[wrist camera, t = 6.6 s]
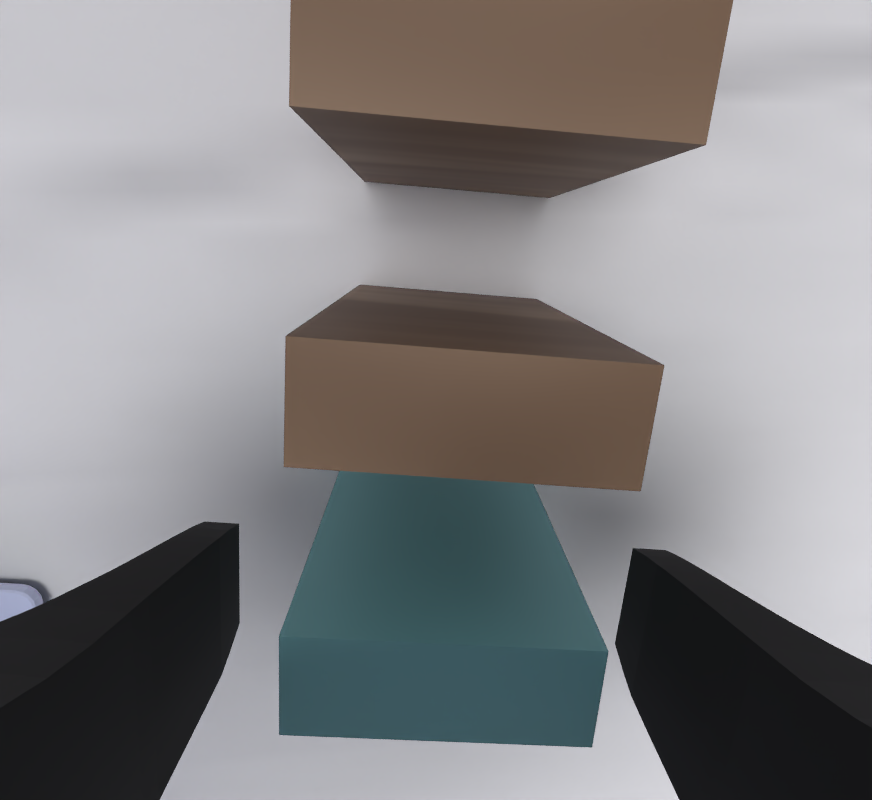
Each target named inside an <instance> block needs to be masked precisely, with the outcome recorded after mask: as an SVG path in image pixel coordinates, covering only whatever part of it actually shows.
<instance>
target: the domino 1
mask: <svg viewBox="0 0 872 800" xmlns="http://www.w3.org/2000/svg"><path fill="white" fill-rule="evenodd" d="M732 4H733V0H291V18H290V87H289V106H290V107H291V108H292V109H293V110H294V111H295V112H296V113H297V114H298V115H299V116H300V117H301V118H302V119H303V120H304V121H305V122H306V123H307V124H308V125H309V126H310V127H311V128H312V129H313V130H314V131H315V132H316V133H317V134H318V135H319V136H320V137H321V138H322V139H323V140H324V141H325V142H326V143H327V144H328V145H329V146H330V147H331V148H332V149H333V150H334V151H335V152H336V153H337V154H338V155H339V156H340V157H341V158H342V159H343V160H344V161H345V162H346V163H347V164H348V165H349V166H350V167H351V168H352V169H353V170H354V171H355V172H356V173H357V174H358V175H359V176H360V177H361V178H362V179H363V180H364V181H365V182H376V183H387V184H398V185H409V186H421V187H432V188H443V189H455V190H466V191H477V192H488V193H500V194H511V195H522V196H534V197H545V198H551V197H554V196H557V195H560V194H562V193H565V192H568V191H571V190H574V189H577V188H580V187H583V186H586V185H589V184H592V183H595V182H598V181H601V180H604V179H607V178H610V177H613V176H616V175H619V174H622V173H624V172H627V171H630V170H633V169H636V168H639V167H642V166H645V165H648V164H651V163H654V162H657V161H660V160H663V159H666V158H669V157H672V156H675V155H678V154H681V153H683V152H686V151H689V150H692V149H695V148H698V147H701V146H704V145H706V142H707V137H708V131H709V126H710V121H711V115H712V110H713V105H714V99H715V94H716V89H717V83H718V78H719V73H720V67H721V62H722V57H723V52H724V46H725V41H726V36H727V30H728V25H729V20H730V14H731V9H732Z"/></svg>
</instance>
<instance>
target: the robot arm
mask: <svg viewBox="0 0 872 800" xmlns="http://www.w3.org/2000/svg"><path fill="white" fill-rule="evenodd" d="M238 626H239V524H233V523H217V522H203V523H200V524H198V525H196V526H193V527H191V528H189V529H187V530H185V531H184V532H182V533H180V534H178V535H176V536H174V537H172V538H171V539H169V540H167V541H165V542H163V543H161V544H160V545H158V546H156V547H154V548H152V549H150V550H149V551H147V552H145V553H143V554H141V555H139V556H137V557H136V558H134V559H132V560H130V561H128V562H126V563H125V564H123V565H121V566H119V567H117V568H115V569H113V570H111V571H109V572H107V573H105V574H103V575H101V576H99V577H97V578H95V579H93V580H91V581H89V582H87V583H85V584H83V585H81V586H79V587H77V588H75V589H73V590H71V591H69V592H67V593H65V594H63V595H61V596H59V597H57V598H54V599H52V600H50V601H48V602H46V603H43V599H42V596H41V594H40V593H39V592H38V591H37V590H36V589H35V588H33V587H31V586H29V585H25V584H13V583H0V800H160V798H161V796H162V794H163V792H164V790H165V788H166V786H167V784H168V782H169V780H170V778H171V776H172V774H173V772H174V770H175V768H176V766H177V764H178V762H179V760H180V758H181V756H182V754H183V752H184V750H185V748H186V746H187V744H188V742H189V740H190V738H191V736H192V734H193V732H194V730H195V728H196V726H197V724H198V722H199V720H200V718H201V716H202V714H203V712H204V710H205V708H206V706H207V704H208V702H209V700H210V698H211V696H212V694H213V691H214V689H215V687H216V685H217V683H218V681H219V679H220V677H221V675H222V672H223V669H224V667H225V664H226V661H227V658H228V656H229V653H230V650H231V647H232V644H233V641H234V638H235V635H236V632H237V629H238ZM615 645H616V648H617V652H618V655H619V659H620V662H621V665H622V669H623V672H624V675H625V678H626V681H627V684H628V687H629V690H630V693H631V696H632V698H633V701H634V703H635V705H636V707H637V710H638V712H639V714H640V716H641V718H642V721H643V723H644V725H645V727H646V729H647V732H648V734H649V736H650V738H651V740H652V742H653V744H654V747H655V749H656V751H657V753H658V755H659V757H660V759H661V762H662V764H663V766H664V768H665V770H666V772H667V774H668V776H669V779H670V781H671V783H672V785H673V787H674V789H675V791H676V794H677V796H678V798H679V800H872V665H871V664H869V663H867V662H865V661H863V660H860V659H858V658H856V657H854V656H852V655H851V654H849V653H847V652H845V651H843V650H841V649H839V648H837V647H835V646H833V645H831V644H829V643H827V642H826V641H824V640H822V639H820V638H818V637H816V636H815V635H813V634H811V633H809V632H807V631H805V630H804V629H802V628H800V627H798V626H796V625H795V624H793V623H791V622H789V621H788V620H786V619H784V618H782V617H781V616H779V615H777V614H775V613H774V612H772V611H770V610H769V609H767V608H765V607H763V606H762V605H760V604H758V603H757V602H755V601H753V600H752V599H750V598H748V597H747V596H745V595H743V594H742V593H740V592H738V591H737V590H735V589H733V588H732V587H730V586H729V585H727V584H725V583H724V582H722V581H720V580H719V579H717V578H715V577H714V576H712V575H710V574H709V573H707V572H705V571H704V570H702V569H700V568H699V567H697V566H695V565H693V564H692V563H690V562H688V561H686V560H684V559H683V558H681V557H679V556H677V555H675V554H673V553H670V552H668V551H666V550H653V549H636V548H633V551H632V556H631V561H630V567H629V572H628V577H627V583H626V588H625V593H624V599H623V604H622V609H621V615H620V620H619V625H618V630H617V636H616V641H615Z"/></svg>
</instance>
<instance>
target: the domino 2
mask: <svg viewBox="0 0 872 800" xmlns="http://www.w3.org/2000/svg"><path fill="white" fill-rule="evenodd" d="M663 369H664V365H663V364H661V363H659V362H657V361H655V360H653V359H651V358H649V357H647V356H645V355H643V354H641V353H639V352H638V351H636V350H634V349H632V348H630V347H628V346H626V345H624V344H622V343H620V342H618V341H616V340H614V339H612V338H611V337H609V336H607V335H605V334H603V333H601V332H599V331H597V330H595V329H593V328H591V327H589V326H587V325H585V324H584V323H582V322H580V321H578V320H576V319H574V318H572V317H570V316H568V315H566V314H564V313H562V312H560V311H558V310H557V309H555V308H553V307H551V306H549V305H547V304H545V303H543V302H541V301H539V300H537V299H528V298H516V297H503V296H491V295H479V294H466V293H454V292H442V291H429V290H417V289H405V288H393V287H380V286H368V285H359V286H358V287H356V288H355V289H353V290H352V291H350V292H349V293H347V294H346V295H344V296H343V297H342V298H340V299H339V300H337V301H336V302H334V303H333V304H331V305H330V306H329V307H327V308H326V309H324V310H323V311H321V312H320V313H318V314H317V315H315V316H314V317H313V318H311V319H310V320H308V321H307V322H305V323H304V324H302V325H301V326H300V327H298V328H297V329H295V330H294V331H292V332H291V333H289V334H288V335H287V336H286V349H285V418H284V467H292V468H307V469H322V470H336V471H351V472H366V473H380V474H395V475H410V476H424V477H439V478H453V479H468V480H483V481H497V482H512V483H527V484H541V485H556V486H571V487H585V488H600V489H615V490H629V491H641V487H642V481H643V476H644V471H645V465H646V460H647V455H648V449H649V444H650V439H651V433H652V428H653V423H654V417H655V412H656V407H657V401H658V396H659V391H660V385H661V380H662V375H663Z"/></svg>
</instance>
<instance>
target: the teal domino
mask: <svg viewBox="0 0 872 800" xmlns="http://www.w3.org/2000/svg"><path fill="white" fill-rule="evenodd" d="M607 657H608V649H607V647H606V645H605V643H604V641H603V638H602V636H601V634H600V632H599V629H598V627H597V625H596V623H595V620H594V618H593V616H592V614H591V611H590V609H589V607H588V605H587V603H586V600H585V598H584V596H583V594H582V591H581V589H580V587H579V585H578V582H577V580H576V578H575V576H574V573H573V571H572V569H571V567H570V565H569V562H568V560H567V558H566V556H565V553H564V551H563V549H562V547H561V544H560V542H559V540H558V538H557V536H556V533H555V531H554V529H553V527H552V524H551V522H550V520H549V518H548V515H547V513H546V511H545V509H544V506H543V504H542V502H541V500H540V498H539V495H538V493H537V491H536V489H535V486H534V484H527V483H512V482H497V481H483V480H468V479H453V478H439V477H424V476H410V475H395V474H380V473H366V472H351V471H339V474H338V477H337V479H336V482H335V485H334V488H333V490H332V493H331V496H330V499H329V501H328V504H327V507H326V510H325V512H324V515H323V518H322V520H321V523H320V526H319V529H318V531H317V534H316V537H315V540H314V542H313V545H312V548H311V551H310V553H309V556H308V559H307V561H306V564H305V567H304V570H303V572H302V575H301V578H300V581H299V583H298V586H297V589H296V591H295V594H294V597H293V600H292V602H291V605H290V608H289V611H288V613H287V616H286V619H285V622H284V624H283V627H282V630H281V632H280V635H279V735H293V736H319V737H344V738H369V739H394V740H420V741H445V742H470V743H496V744H521V745H546V746H571V747H592V744H593V738H594V732H595V726H596V721H597V715H598V709H599V703H600V697H601V692H602V686H603V680H604V674H605V668H606V663H607Z"/></svg>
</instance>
